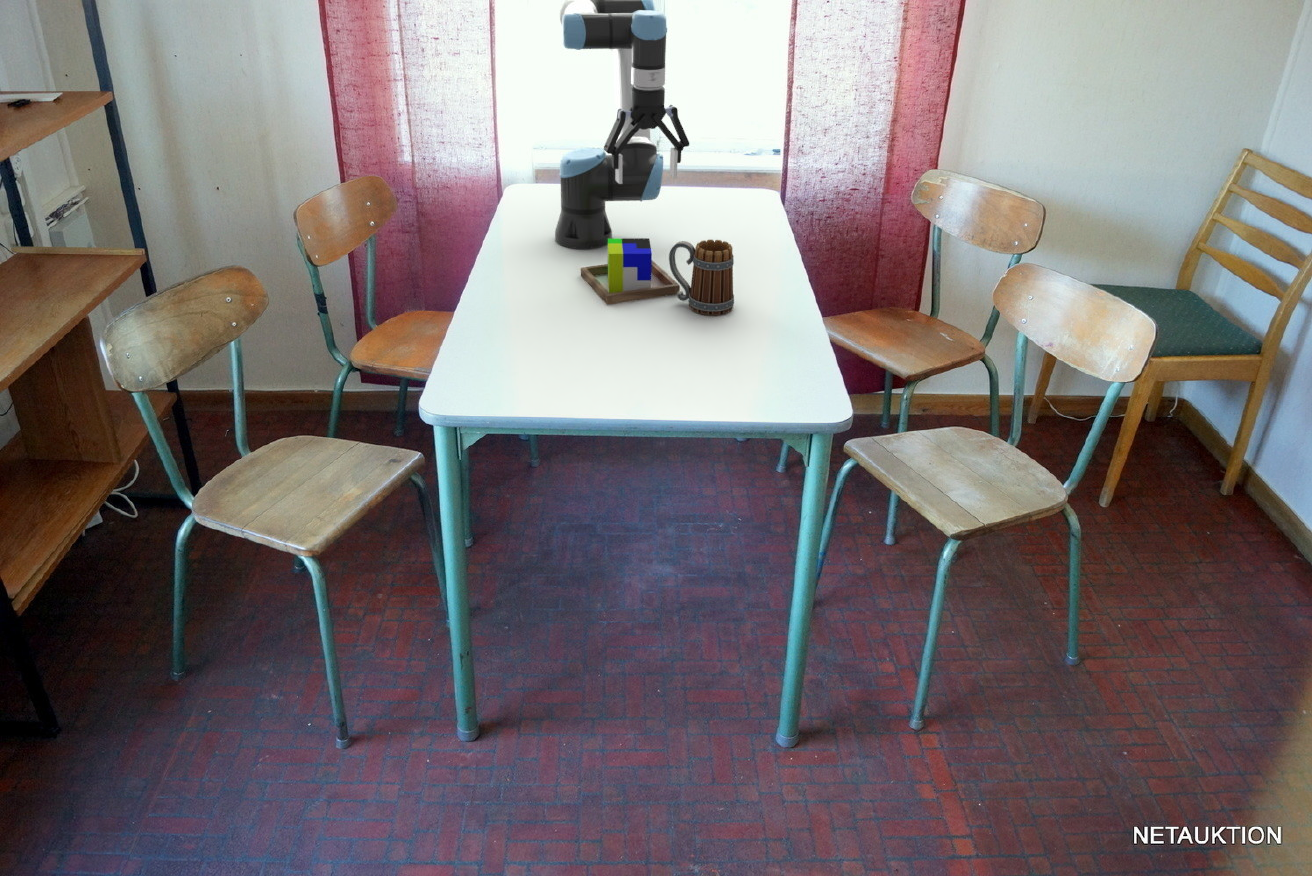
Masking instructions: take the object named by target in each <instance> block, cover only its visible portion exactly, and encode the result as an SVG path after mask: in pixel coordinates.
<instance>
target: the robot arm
mask: <svg viewBox="0 0 1312 876" xmlns="http://www.w3.org/2000/svg"><path fill="white" fill-rule="evenodd" d="M559 11H560V12H559V20H560V24H561V31H562V33H561V34H562V46H563V47H564V48H565V49H568V50H611V51H612V52H613V71H614V72H613V73H614V94H615V114H616V117H615V118H616V120H615V121H614V124H613V126H612V128H611V131H610V132H609V134H608V137H607V139H606V141H605V143H604V146H603V149H602V148H600V147H583V148H581V147H580V148H576V149H574V150H571V151H568V152H566V153H565V154H563V156H562V157H561V159H560V162H559V175H558V176H559V177H560V206H561V207H560V213H559V217H558V220H557V224H556V226H555V231H554V235H555V236H554V239H555V240H554V241H555V242H556V243H557V244H558V245H560V246H563V247H566V248H569V249H570V248H571V249H579V250H585V249H586V250H589V249H596V248H602V247H604V246H606V245H607V246H608V238H613V229H612V227H611V223H610V220H609V218H608V214H607V211H606V202H630V201H631V202H637V201H638V202H644V201H652V200H656V199H657V198H658V197H659V195H660V193H661V192H660V191H661V188H662V181H663V174H664V173H663V172H664V156H663V154H660V153H658V150H657V145H655V144H654V143H653V142H652V141H651V130H655V129H656V128H659V130H660V131H661V132H662V134H663V135H664V136H665V137H666V138H667V140H669V142H670V143H671V145H672V147H670V150H669V151H670V153H669V176H670V177H671V178H672V179H677V178H678V164H681V161H682V151H683V150H684V148H685V147H689V146H690V141H689V139H688V136H687V135H686V132H685V130H684V128H683V126H682V123H681V120H680V119H679V113H678V111H679V110H678V107H676V106H675V105H673V104H670V105H669V106H668V107H665V97H666V96H665V95H666V94H665V93H666V90H665V89H666V88H664V86H665V84H666V52H667V51H666V50H667V34H668V27H667V16H666V14H665V13H664V12H661V11H659V10H656V7H655V3H654V0H565V1H564V2H563V4H562V6H561V7H560V10H559ZM666 115H667V116H668V117H669V118H670V121H671V123H672V126H673V127H674V130H675V132H676V134H677V137H678V139H679V140H678V139H677V138H676V136H675V135H674V134H673V132H671V131H670V128H669V127H668V126H667V125H666V124H665V123H664V121H663V119H664V117H665V116H666Z"/></svg>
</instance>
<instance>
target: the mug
mask: <svg viewBox="0 0 1312 876" xmlns="http://www.w3.org/2000/svg"><path fill="white" fill-rule="evenodd" d="M679 248H684V249H685V250H687V251H688V253H689V258H688V259H687V260H686V264H687V265H688V266H690V265H691V264H693V266H692V275H691V280H690V281H691V284H690V283H689V282H688V281H687V280H686V279H685V278H684V277H683V275H682V274H681V272H680V270H679V268H678V267H677V263H676V252H677V249H679ZM734 261H735V260H734V255H733V245H732V244H731V243H729V242H728V241H725V240H724V241H722V240H721V239H715V241H714V239H707V240H701V241H700V242H697V243H696V245H695V246H694V245H693V244H692V243H690V241H689V242H688V241H685V240H680V241H678V242H676V243H674V245H673V246H672V247H671V248H670V250H669V254H668V263H669V268H670V272H671V274H672V276H673V277H674V280H675V281H676V282H677V283H678V284H679V285H680V287H682V288H683V290H684V291H682V290H680V291H678V293H677V294H676V297H677V299H678V300H680V301H681V302H682V301H683V302H685V301H687V302H688V307H689V309H690V310H691V311H693V312H694V313H697V314H699V315H702V316H708V317H710V316H711V317H716V316H722V315H725V314H728V313H730V312H731V311H732V310H733V308H734V304H735V295H734V276H733V275H734V272H733V271H734V270H733V269H734V267H733V266H734ZM684 292H685V293H684Z"/></svg>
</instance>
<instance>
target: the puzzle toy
mask: <svg viewBox="0 0 1312 876" xmlns="http://www.w3.org/2000/svg"><path fill="white" fill-rule="evenodd" d="M652 256H653V254H652V246H651V241H650V238H646V237H645V238H643V237H642V238H638V237H637V238H636V237H635V238H632V237H631V238H629V237H628V238H625V237H624V238H621V237H620V238H613V237H612V238H608V244H607V264H608V274H607V283H608V285H607V286H608V292H609V293H617V292H623V291H630V290H637V289H644V288H651V287H652V273H651V267H652V261H653V259H652V258H653V257H652Z"/></svg>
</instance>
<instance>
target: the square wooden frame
mask: <svg viewBox="0 0 1312 876" xmlns="http://www.w3.org/2000/svg"><path fill="white" fill-rule="evenodd" d="M605 275H607V276H608V263H606V264H598V265H591V266H590V265H589V266H583V267H580V277H581V278H582V279H583V280H584V282H585V283H586V284H587V285H588V286H589V287H590V288H591V289H592V290H593V292H595V293H596V295H597V296H598V297H599V298H600V299H601V301H603V302H604V303H605V304H606V306H608V305H616V304H623V303H629V302H635V301H642V300H643V301H644V300H648V299H654V298H655V299H656V298H663V297H668V296H675V295H676V296H677V293H678V291H681V285H680V283H679V282H678V281H677V280H676V279H674V278H673V277H671V275H669V274H668V273H667V272H666V271H665V270H663V269H662V268H661V267H660V265H658V264H657V263H656V262H655V261H654V260H652V267H651V275H653V276H654V277H655V278H657V280H659V282H661V283H662V284H663V285H659V286H651V288H644V289H637V290H630V291H623V292H617V293H609V290H608V289H607V288H606V287H604V285H603V284H602V283H601V282H600V281H599V280H598V279H597V277H599V276H605Z"/></svg>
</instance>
